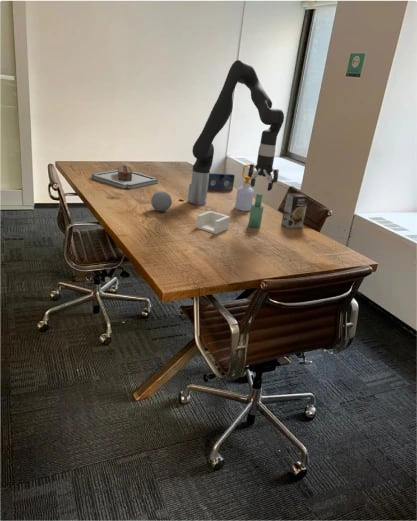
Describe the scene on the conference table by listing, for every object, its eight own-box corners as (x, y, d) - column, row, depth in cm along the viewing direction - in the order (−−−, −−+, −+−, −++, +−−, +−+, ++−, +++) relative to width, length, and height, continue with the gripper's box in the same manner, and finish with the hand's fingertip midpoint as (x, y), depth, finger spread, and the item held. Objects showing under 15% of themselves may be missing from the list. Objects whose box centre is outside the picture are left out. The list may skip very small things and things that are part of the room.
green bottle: (246, 225, 217) (251, 193, 211) (251, 223, 222) (256, 191, 216) (256, 229, 214) (262, 196, 208) (262, 226, 219) (267, 194, 213)
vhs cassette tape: (231, 189, 280) (233, 174, 276) (232, 191, 278) (235, 175, 274) (203, 188, 274) (205, 172, 270) (205, 190, 272) (207, 174, 268)
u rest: (195, 227, 206) (197, 215, 203) (208, 222, 214) (210, 210, 212) (216, 234, 201) (217, 221, 198) (228, 228, 209) (230, 216, 207)
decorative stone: (159, 206, 229) (161, 187, 225) (174, 212, 224) (176, 192, 220) (146, 210, 221) (147, 190, 217) (161, 215, 216) (163, 195, 212)
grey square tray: (160, 184, 274) (161, 172, 271) (127, 191, 250) (127, 178, 247) (123, 173, 288) (124, 161, 285) (88, 179, 264) (89, 166, 261)
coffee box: (288, 228, 221) (294, 196, 215) (280, 224, 227) (286, 193, 220) (302, 227, 226) (309, 196, 219) (295, 223, 231) (301, 192, 224)
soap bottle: (250, 212, 239) (257, 166, 230) (233, 209, 241) (240, 163, 231) (251, 207, 247) (259, 163, 238) (235, 205, 249) (242, 161, 239)
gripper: (283, 156, 205) (277, 190, 211) (256, 150, 211) (251, 184, 217) (277, 157, 199) (271, 193, 205) (248, 151, 205) (243, 186, 211)
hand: (260, 188), depth 211 cm, fingers open, 8 cm apart
